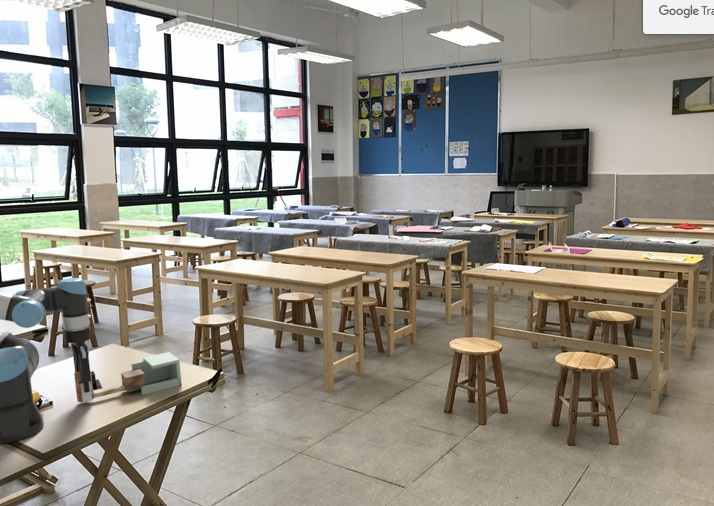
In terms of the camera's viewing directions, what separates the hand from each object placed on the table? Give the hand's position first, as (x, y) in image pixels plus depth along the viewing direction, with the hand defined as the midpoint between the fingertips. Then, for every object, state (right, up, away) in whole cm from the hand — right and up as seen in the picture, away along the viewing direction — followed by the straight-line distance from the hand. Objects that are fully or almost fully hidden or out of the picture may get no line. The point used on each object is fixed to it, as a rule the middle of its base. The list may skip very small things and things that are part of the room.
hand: (85, 398), depth 191 cm
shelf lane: (+18, +1, +13) cm, 23 cm away
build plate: (-5, 0, +16) cm, 17 cm away
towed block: (+6, +1, +4) cm, 8 cm away
